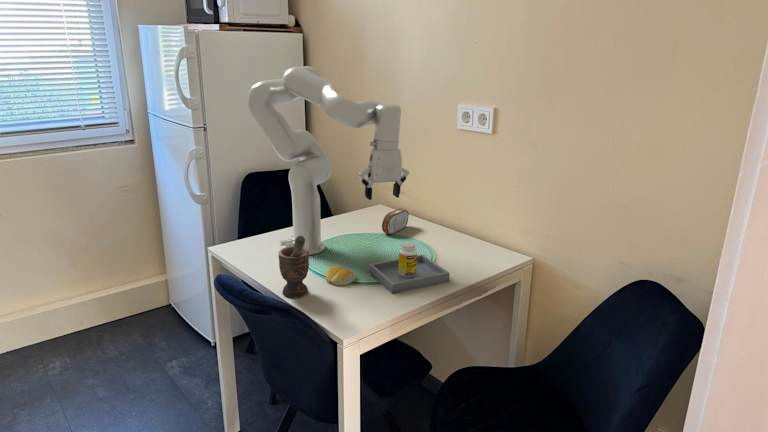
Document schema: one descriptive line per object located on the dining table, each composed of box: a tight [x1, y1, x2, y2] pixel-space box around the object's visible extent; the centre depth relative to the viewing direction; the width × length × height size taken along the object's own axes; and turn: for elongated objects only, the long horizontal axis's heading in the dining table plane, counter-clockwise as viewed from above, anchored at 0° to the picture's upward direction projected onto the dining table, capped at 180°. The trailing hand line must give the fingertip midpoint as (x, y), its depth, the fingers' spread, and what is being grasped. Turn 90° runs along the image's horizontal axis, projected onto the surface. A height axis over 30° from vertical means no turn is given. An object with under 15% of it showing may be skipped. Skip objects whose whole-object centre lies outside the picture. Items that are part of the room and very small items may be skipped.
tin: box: [381, 207, 410, 235], centre depth 204 cm, size 15×3×8 cm, turn 144°
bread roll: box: [325, 265, 355, 286], centre depth 163 cm, size 8×9×4 cm
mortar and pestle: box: [278, 236, 310, 298], centre depth 151 cm, size 12×9×20 cm
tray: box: [368, 254, 450, 295], centre depth 166 cm, size 20×16×3 cm
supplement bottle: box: [398, 241, 418, 277], centre depth 165 cm, size 6×6×10 cm
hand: (382, 197), depth 169 cm, fingers open, 9 cm apart
